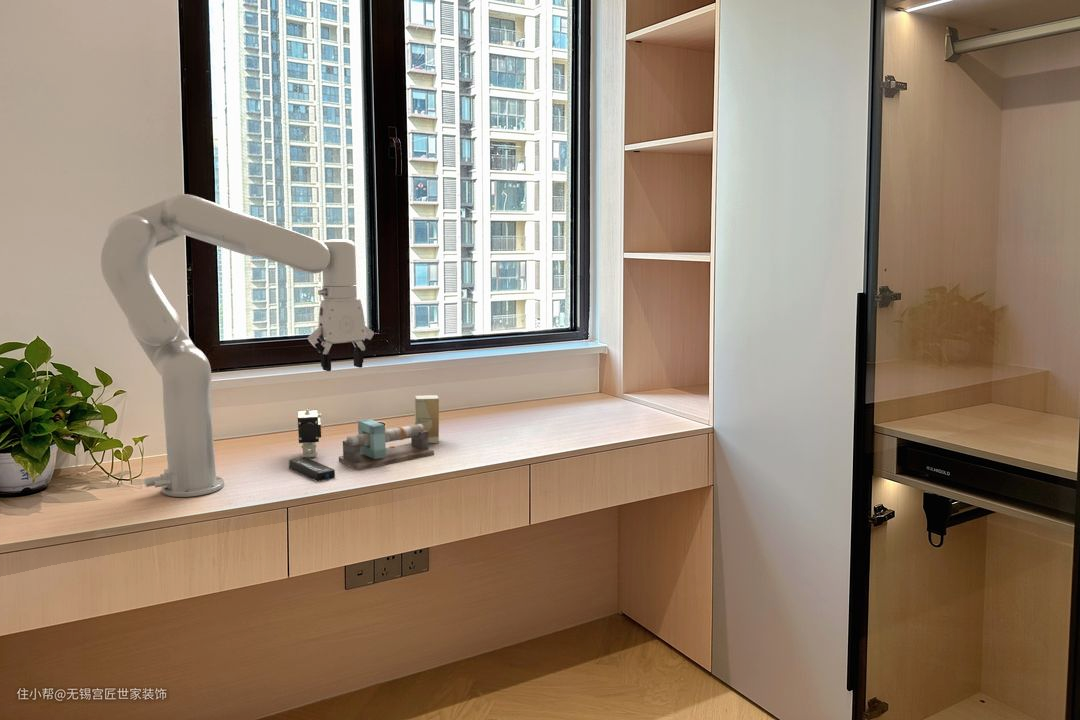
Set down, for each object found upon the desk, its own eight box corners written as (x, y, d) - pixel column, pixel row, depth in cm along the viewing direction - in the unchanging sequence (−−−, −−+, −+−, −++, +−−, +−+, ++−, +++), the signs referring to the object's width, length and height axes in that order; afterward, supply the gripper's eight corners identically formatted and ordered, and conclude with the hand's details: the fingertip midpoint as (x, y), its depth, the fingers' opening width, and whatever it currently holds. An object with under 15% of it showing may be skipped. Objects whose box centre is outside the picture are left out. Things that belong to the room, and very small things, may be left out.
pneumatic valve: (299, 463, 203) (297, 415, 201) (300, 451, 214) (297, 405, 212) (323, 461, 204) (321, 413, 202) (322, 449, 215) (320, 403, 214)
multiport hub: (305, 465, 202) (305, 456, 202) (335, 479, 192) (335, 469, 192) (288, 469, 200) (288, 460, 199) (318, 483, 189) (317, 473, 189)
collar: (374, 459, 201) (373, 426, 200) (359, 452, 207) (358, 420, 206) (385, 457, 203) (384, 424, 202) (370, 450, 209) (369, 418, 208)
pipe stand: (357, 469, 198) (356, 440, 197) (338, 460, 205) (337, 432, 204) (433, 454, 211) (433, 427, 210) (413, 446, 218) (412, 419, 217)
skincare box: (415, 444, 221) (414, 398, 219) (414, 440, 225) (413, 395, 223) (440, 443, 222) (439, 397, 220) (438, 438, 226) (437, 394, 224)
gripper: (311, 296, 186) (314, 374, 189) (381, 292, 197) (383, 366, 200) (297, 294, 192) (300, 370, 195) (366, 290, 203) (368, 362, 206)
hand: (342, 368), depth 197 cm, fingers open, 7 cm apart
